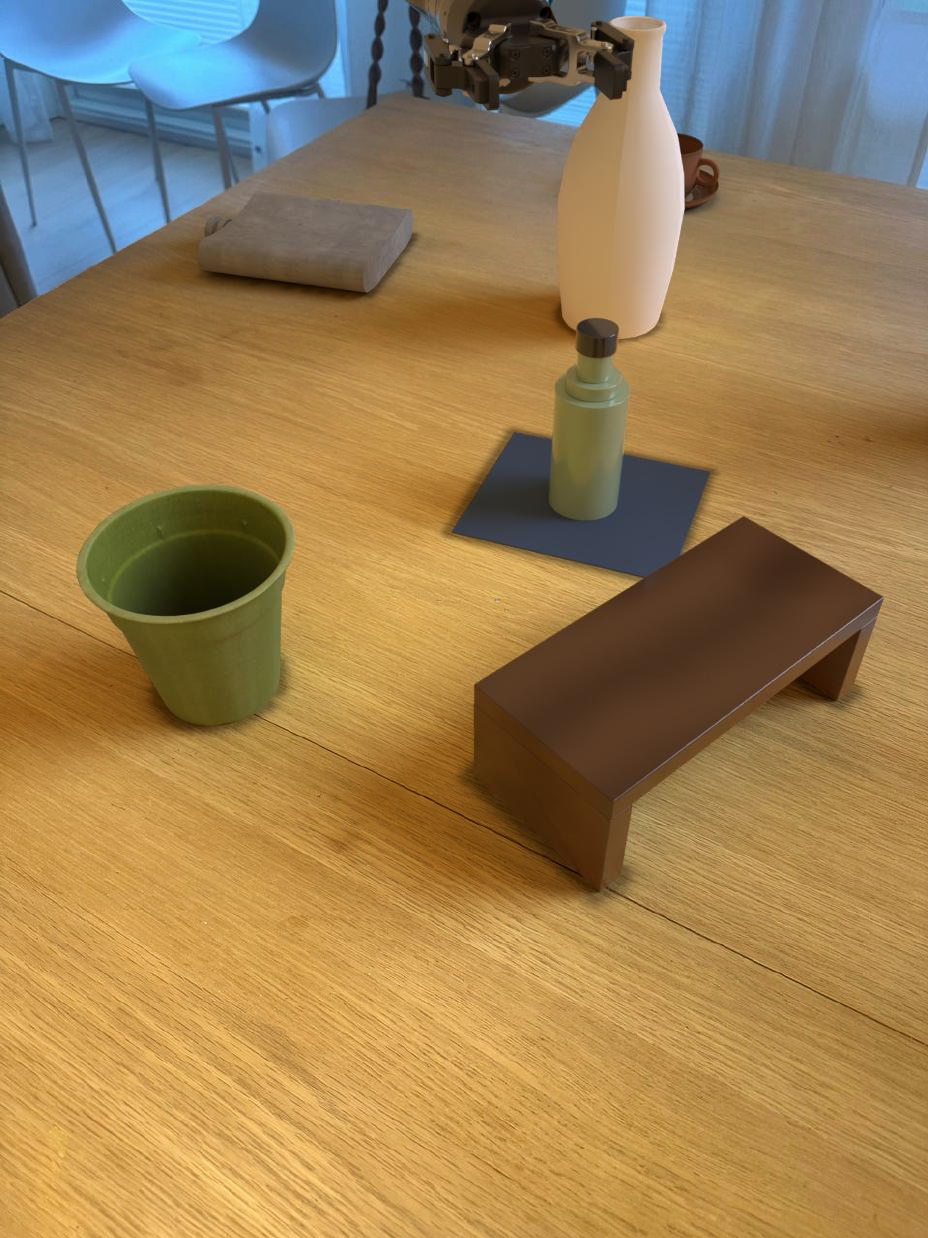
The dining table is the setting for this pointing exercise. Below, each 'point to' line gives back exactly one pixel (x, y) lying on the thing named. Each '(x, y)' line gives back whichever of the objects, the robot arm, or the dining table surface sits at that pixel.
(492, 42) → the robot arm
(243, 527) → the plant pot
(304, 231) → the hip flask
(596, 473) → the spice bottle
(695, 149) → the cup and saucer
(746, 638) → the shelf
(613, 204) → the bottle
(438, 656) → the dining table surface
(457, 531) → the mat
